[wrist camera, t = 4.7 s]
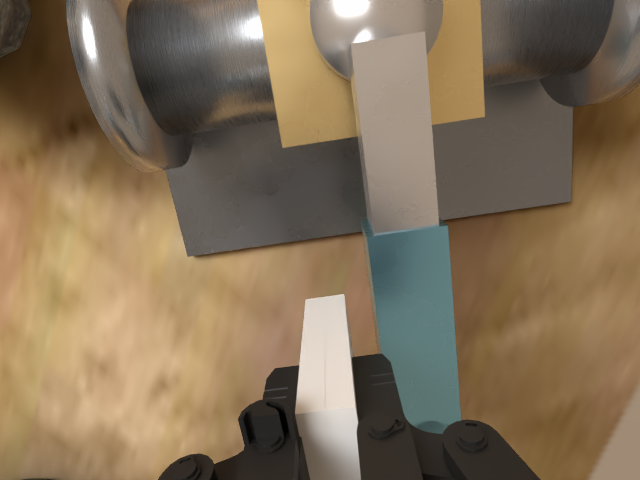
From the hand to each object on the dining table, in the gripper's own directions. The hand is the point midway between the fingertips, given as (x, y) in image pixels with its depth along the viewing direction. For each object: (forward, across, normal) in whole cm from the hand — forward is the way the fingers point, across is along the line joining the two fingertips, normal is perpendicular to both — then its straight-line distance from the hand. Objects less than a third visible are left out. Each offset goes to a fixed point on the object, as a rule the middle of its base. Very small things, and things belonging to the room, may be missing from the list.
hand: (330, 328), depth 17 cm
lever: (+2, +3, +3) cm, 5 cm away
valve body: (+12, +3, +8) cm, 14 cm away
